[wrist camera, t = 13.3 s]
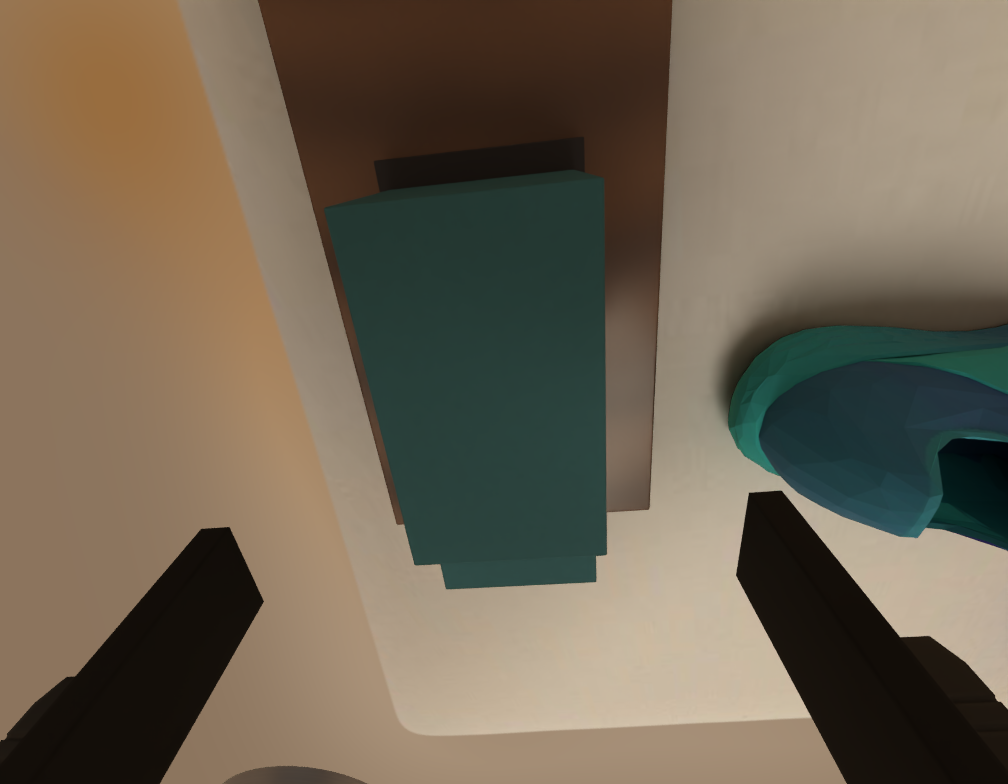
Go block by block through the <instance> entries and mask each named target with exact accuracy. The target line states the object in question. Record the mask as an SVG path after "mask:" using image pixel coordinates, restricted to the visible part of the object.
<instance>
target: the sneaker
mask: <svg viewBox="0 0 1008 784" xmlns="http://www.w3.org/2000/svg"><path fill="white" fill-rule="evenodd" d="M728 426H729V430H730V432H731V435H732V437H733V439H734V441H735V443H736V446H737V448H738V449H740V450H741V452H742V453H743V455H744V456H745V457H747V458H749V459H750V460H752V461H754V462H755V463H757V464H758V465H760V466H761V467H763V468H764V469H765V470H766V471H768V472H771V473H773V474H776V475H778V476H781V477H782V478H783V479H784V480H785V481H786V482H787V483H788V484H789V485H790V486H791V487H792V488H793V489H794V490H795V491H797V492H798V493H799V494H801V495H803V496H804V497H806V498H808V499H810V500H811V501H813V502H815V503H817V504H818V505H820V506H822V507H824V508H826V509H828V510H830V511H832V512H834V513H836V514H838V515H840V516H842V517H845V518H848V519H851V520H854V521H857V522H859V523H862V524H865V525H868V526H871V527H874V528H877V529H879V530H882V531H885V532H888V533H891V534H894V535H897V536H899V537H914V538H918V536H919V535H920V534H921V533H922V531H923V530H924V529H925V528H934V529H943V530H947V531H950V532H954V533H957V534H960V535H963V536H966V537H969V538H972V539H975V540H978V541H981V542H984V543H987V544H990V545H993V546H996V547H999V548H1002V549H1005V550H1007V551H1008V324H1007V325H1003V326H999V327H996V328H988V329H981V330H973V331H937V332H934V331H924V330H914V329H905V328H895V327H875V326H829V327H821V328H813V329H806V330H802V331H799V332H797V333H794V334H791V335H788V336H785V337H782V338H780V339H779V340H777V341H776V342H774V343H773V344H771V345H770V346H769V347H768V348H767V349H766V350H764V351H763V352H762V353H760V354H759V355H758V356H756V357H755V359H754V360H753V362H752V363H751V364H750V366H749V367H748V369H747V370H746V372H745V373H744V374H743V376H742V377H741V379H740V380H739V381H738V383H737V386H736V388H735V391H734V394H733V396H732V399H731V404H730V410H729V416H728Z"/></svg>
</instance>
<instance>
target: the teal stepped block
mask: <svg viewBox="0 0 1008 784" xmlns="http://www.w3.org/2000/svg"><path fill="white" fill-rule="evenodd" d="M374 167H375V172H376V177H377V182H378V186H379V191H380V193H377V194H373V195H369V196H366V197H362V198H358V199H354V200H351V201H347V202H343V203H340V204H336V205H332V206H329V207H325V208H324V212H325V216H326V220H327V224H328V228H329V232H330V236H331V240H332V244H333V248H334V252H335V255H336V259H337V263H338V267H339V271H340V275H341V279H342V283H343V287H344V291H345V295H346V298H347V302H348V306H349V310H350V314H351V318H352V322H353V326H354V330H355V334H356V338H357V341H358V345H359V349H360V353H361V357H362V361H363V365H364V369H365V373H366V377H367V381H368V385H369V388H370V392H371V396H372V400H373V404H374V408H375V412H376V416H377V420H378V424H379V428H380V431H381V435H382V439H383V443H384V447H385V451H386V455H387V459H388V463H389V467H390V471H391V474H392V478H393V482H394V486H395V490H396V494H397V498H398V502H399V506H400V510H401V514H402V517H403V521H404V525H405V529H406V533H407V537H408V541H409V545H410V549H411V553H412V557H413V561H414V564H415V565H432V564H441V569H442V573H443V578H444V582H445V587H446V589H464V588H485V587H505V586H525V585H545V584H566V583H586V582H596V556H602V555H606V554H607V512H606V357H605V203H604V178H603V177H599V176H596V175H592V174H588V173H585V155H584V137H575V138H566V139H557V140H549V141H540V142H531V143H523V144H514V145H506V146H497V147H488V148H480V149H471V150H462V151H454V152H445V153H436V154H428V155H419V156H411V157H402V158H393V159H385V160H376V161H374Z"/></svg>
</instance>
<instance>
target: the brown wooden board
mask: <svg viewBox="0 0 1008 784" xmlns="http://www.w3.org/2000/svg"><path fill="white" fill-rule="evenodd" d="M258 2H259V6H260V9H261V13H262V17H263V21H264V25H265V28H266V32H267V36H268V40H269V43H270V47H271V51H272V55H273V59H274V62H275V66H276V70H277V74H278V77H279V81H280V85H281V89H282V93H283V96H284V100H285V104H286V108H287V111H288V115H289V119H290V123H291V126H292V130H293V134H294V138H295V142H296V145H297V149H298V153H299V157H300V160H301V164H302V168H303V172H304V176H305V179H306V183H307V187H308V191H309V194H310V198H311V202H312V206H313V210H314V213H315V217H316V221H317V225H318V228H319V232H320V236H321V240H322V243H323V247H324V251H325V255H326V259H327V262H328V266H329V270H330V274H331V277H332V281H333V285H334V289H335V293H336V296H337V300H338V304H339V308H340V311H341V315H342V319H343V323H344V327H345V330H346V334H347V338H348V342H349V345H350V349H351V353H352V357H353V361H354V364H355V368H356V372H357V376H358V379H359V383H360V387H361V391H362V394H363V398H364V402H365V406H366V410H367V413H368V417H369V421H370V425H371V428H372V432H373V436H374V440H375V444H376V447H377V451H378V455H379V459H380V462H381V466H382V470H383V474H384V478H385V481H386V485H387V489H388V493H389V496H390V500H391V504H392V508H393V512H394V515H395V519H396V523H397V524H398V525H400V524H404V521H403V517H402V514H401V510H400V506H399V502H398V498H397V494H396V490H395V486H394V482H393V478H392V474H391V471H390V467H389V463H388V459H387V455H386V451H385V447H384V443H383V439H382V435H381V431H380V428H379V424H378V420H377V416H376V412H375V408H374V404H373V400H372V396H371V392H370V388H369V385H368V381H367V377H366V373H365V369H364V365H363V361H362V357H361V353H360V349H359V345H358V341H357V338H356V334H355V330H354V326H353V322H352V318H351V314H350V310H349V306H348V302H347V298H346V295H345V291H344V287H343V283H342V279H341V275H340V271H339V267H338V263H337V259H336V255H335V252H334V248H333V244H332V240H331V236H330V232H329V228H328V224H327V220H326V216H325V212H324V208H325V207H329V206H332V205H336V204H340V203H343V202H347V201H351V200H354V199H358V198H362V197H366V196H369V195H373V194H377V193H380V191H379V186H378V182H377V177H376V172H375V167H374V161H376V160H385V159H393V158H402V157H411V156H419V155H428V154H436V153H445V152H454V151H462V150H471V149H480V148H488V147H497V146H506V145H514V144H523V143H531V142H540V141H549V140H557V139H566V138H575V137H584V155H585V173H588V174H592V175H596V176H599V177H603V178H604V203H605V357H606V512H618V511H634V510H648V509H649V507H650V485H651V463H652V441H653V418H654V396H655V374H656V352H657V330H658V308H659V286H660V264H661V242H662V219H663V197H664V175H665V153H666V131H667V109H668V87H669V65H670V43H671V20H672V0H258Z"/></svg>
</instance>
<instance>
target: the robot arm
mask: <svg viewBox="0 0 1008 784" xmlns="http://www.w3.org/2000/svg"><path fill="white" fill-rule="evenodd" d="M736 576H737V578H738V580H739V582H740V584H741V586H742V587H743V589H744V591H745V593H746V595H747V597H748V599H749V601H750V603H751V604H752V606H753V608H754V610H755V612H756V614H757V616H758V618H759V619H760V621H761V623H762V625H763V627H764V629H765V631H766V633H767V634H768V636H769V638H770V640H771V642H772V644H773V646H774V648H775V649H776V651H777V653H778V655H779V657H780V659H781V661H782V663H783V665H784V666H785V668H786V670H787V672H788V674H789V676H790V678H791V680H792V681H793V683H794V685H795V687H796V689H797V691H798V693H799V695H800V696H801V698H802V700H803V702H804V704H805V706H806V708H807V710H808V712H809V713H810V715H811V717H812V719H813V721H814V723H815V725H816V727H817V728H818V730H819V732H820V734H821V736H822V738H823V740H824V742H825V743H826V745H827V747H828V749H829V751H830V753H831V755H832V757H833V759H834V760H835V762H836V764H837V766H838V768H839V770H840V772H841V774H842V775H843V777H844V779H845V781H846V783H847V784H1008V709H1007V708H1006V707H1005V706H1004V705H1003V704H1002V703H1001V702H998V701H997V700H996V699H995V695H994V694H993V692H992V691H991V690H990V689H989V688H988V687H987V686H986V685H985V684H984V682H983V681H982V680H981V679H980V678H979V677H978V676H977V675H976V674H975V672H974V671H973V670H972V669H971V668H970V667H969V666H968V665H967V664H966V663H965V662H964V661H963V660H961V659H960V658H959V657H957V656H956V655H955V654H953V653H952V652H950V651H949V650H948V649H946V648H945V647H944V646H942V645H941V644H940V643H938V642H937V641H935V640H934V639H933V638H931V637H930V636H921V637H899V635H898V634H897V633H896V632H895V630H894V629H893V628H892V627H891V625H890V624H889V623H888V622H887V621H886V619H885V618H884V617H883V616H882V614H881V613H880V612H879V611H878V609H877V608H876V607H875V606H874V604H873V603H872V602H871V601H870V599H869V598H868V597H867V596H866V594H865V593H864V592H863V591H862V590H861V588H860V587H859V586H858V585H857V583H856V582H855V581H854V580H853V578H852V577H851V576H850V575H849V573H848V572H847V571H846V570H845V568H844V567H843V566H842V565H841V564H840V562H839V561H838V560H837V559H836V557H835V556H834V555H833V554H832V552H831V551H830V550H829V549H828V547H827V546H826V545H825V544H824V542H823V541H822V540H821V539H820V538H819V536H818V535H817V534H816V533H815V531H814V530H813V529H812V528H811V526H810V525H809V524H808V523H807V521H806V520H805V519H804V518H803V516H802V515H801V514H800V513H799V511H798V510H797V509H796V508H795V507H794V505H793V504H792V503H791V502H790V500H789V499H788V498H787V497H786V495H785V494H784V493H783V492H782V491H769V492H754V493H749V496H748V503H747V509H746V515H745V522H744V528H743V535H742V541H741V547H740V554H739V560H738V567H737V573H736ZM263 602H264V601H263V599H262V596H261V594H260V592H259V590H258V588H257V586H256V583H255V581H254V579H253V577H252V575H251V573H250V571H249V569H248V566H247V564H246V562H245V560H244V558H243V556H242V553H241V551H240V549H239V547H238V545H237V542H236V540H235V538H234V536H233V534H232V532H231V529H230V528H229V527H224V528H211V529H210V528H208V529H201V530H200V531H199V532H198V533H197V535H196V536H195V537H194V538H193V539H192V541H191V542H190V543H189V544H188V545H187V546H186V548H185V549H184V550H183V551H182V552H181V554H180V555H179V556H178V557H177V558H176V559H175V560H174V562H173V563H172V564H171V565H170V566H169V568H168V569H167V570H166V571H165V572H164V573H163V575H162V576H161V577H160V578H159V579H158V580H157V582H156V583H155V584H154V585H153V586H152V587H151V589H150V590H149V591H148V592H147V593H146V594H145V596H144V597H143V598H142V599H141V600H140V602H139V603H138V604H137V605H136V606H135V607H134V608H133V610H132V611H131V612H130V613H129V614H128V615H127V617H126V618H125V619H124V620H123V621H122V623H121V624H120V625H119V626H118V627H117V628H116V630H115V631H114V632H113V633H112V634H111V635H110V637H109V638H108V639H107V640H106V641H105V642H104V644H103V645H102V646H101V647H100V648H99V649H98V651H97V652H96V653H95V654H94V655H93V657H92V658H91V659H90V660H89V661H88V662H87V664H86V665H85V666H84V667H83V668H82V669H81V671H80V672H79V673H78V674H77V675H76V676H75V677H66V678H65V679H64V680H62V681H61V682H60V683H59V684H57V685H56V686H55V687H54V688H52V689H51V690H50V691H49V692H48V693H46V694H45V695H44V696H43V697H42V698H40V699H39V700H38V701H37V702H35V703H34V704H33V705H32V706H31V708H30V709H29V710H28V711H27V712H26V713H25V714H24V716H23V717H22V718H21V719H20V720H19V721H18V722H17V723H16V725H15V726H14V727H13V728H12V729H11V730H10V731H9V732H8V733H7V738H6V739H5V740H1V742H0V784H160V782H161V780H162V779H163V777H164V775H165V773H166V771H167V770H168V768H169V766H170V765H171V763H172V761H173V760H174V758H175V756H176V754H177V752H178V751H179V749H180V747H181V745H182V744H183V742H184V740H185V739H186V737H187V735H188V733H189V732H190V730H191V728H192V726H193V724H194V723H195V721H196V719H197V718H198V716H199V714H200V712H201V711H202V709H203V707H204V705H205V704H206V702H207V700H208V698H209V697H210V695H211V693H212V691H213V690H214V688H215V686H216V684H217V682H218V681H219V679H220V677H221V676H222V674H223V672H224V670H225V669H226V667H227V665H228V663H229V662H230V660H231V658H232V656H233V655H234V653H235V651H236V649H237V647H238V646H239V644H240V642H241V640H242V639H243V637H244V635H245V634H246V632H247V630H248V628H249V627H250V625H251V623H252V621H253V620H254V618H255V616H256V614H257V613H258V611H259V609H260V607H261V606H262V604H263Z"/></svg>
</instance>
